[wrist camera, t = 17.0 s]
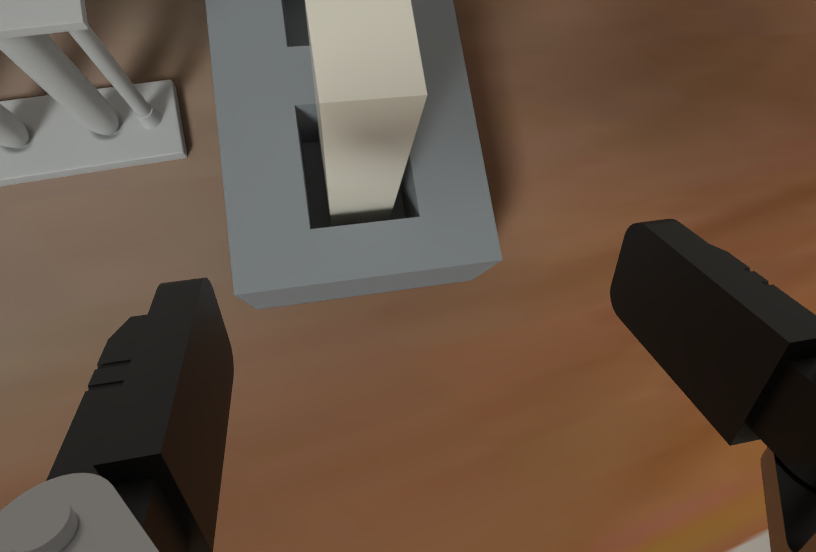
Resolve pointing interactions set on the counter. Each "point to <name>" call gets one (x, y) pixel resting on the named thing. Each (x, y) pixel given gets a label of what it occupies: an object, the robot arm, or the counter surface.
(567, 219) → the counter surface
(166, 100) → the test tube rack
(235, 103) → the grey two-slot holder
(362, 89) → the cream rectangular block
